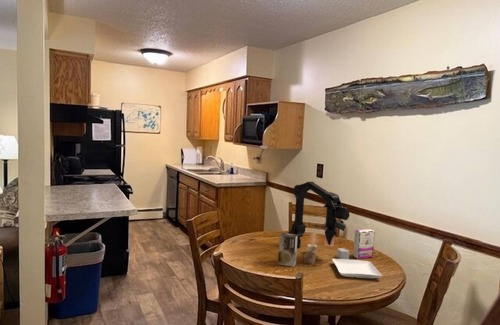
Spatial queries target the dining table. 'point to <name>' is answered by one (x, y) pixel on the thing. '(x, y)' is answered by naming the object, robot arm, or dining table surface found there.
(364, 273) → the salad plate
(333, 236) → the terracotta block
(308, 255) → the walnut block
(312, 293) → the dining table surface
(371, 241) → the candy bar box
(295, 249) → the coffee box
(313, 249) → the maple block
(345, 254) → the light gray block
